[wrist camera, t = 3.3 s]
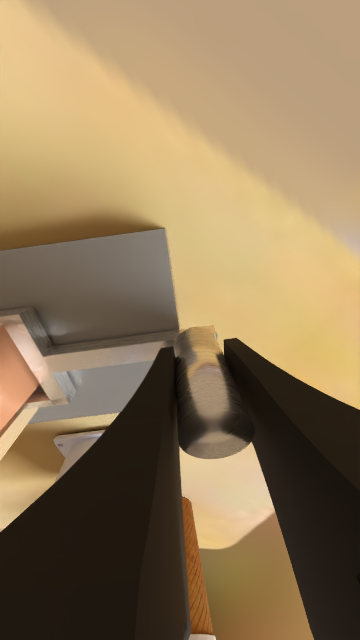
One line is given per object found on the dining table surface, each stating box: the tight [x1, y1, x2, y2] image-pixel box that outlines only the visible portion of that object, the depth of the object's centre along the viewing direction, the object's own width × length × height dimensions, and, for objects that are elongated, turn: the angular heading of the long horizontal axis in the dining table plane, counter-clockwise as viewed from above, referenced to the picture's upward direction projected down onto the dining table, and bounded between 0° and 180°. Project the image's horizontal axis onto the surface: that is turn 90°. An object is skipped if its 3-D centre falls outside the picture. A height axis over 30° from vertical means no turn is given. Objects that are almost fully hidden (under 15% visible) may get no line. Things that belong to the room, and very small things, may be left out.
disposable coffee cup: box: [182, 497, 216, 640], centre depth 21 cm, size 10×10×12 cm
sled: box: [0, 307, 255, 459], centre depth 8 cm, size 18×6×6 cm, turn 97°
